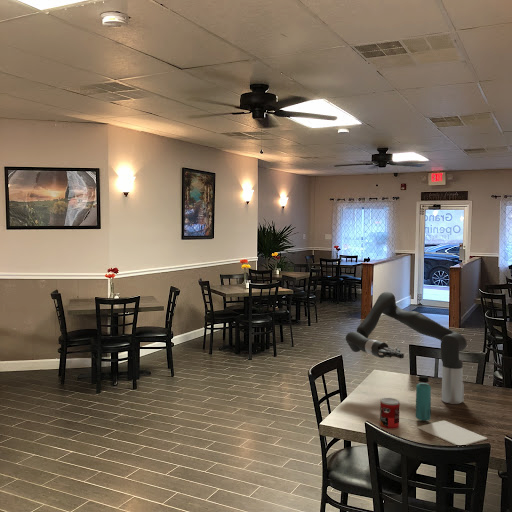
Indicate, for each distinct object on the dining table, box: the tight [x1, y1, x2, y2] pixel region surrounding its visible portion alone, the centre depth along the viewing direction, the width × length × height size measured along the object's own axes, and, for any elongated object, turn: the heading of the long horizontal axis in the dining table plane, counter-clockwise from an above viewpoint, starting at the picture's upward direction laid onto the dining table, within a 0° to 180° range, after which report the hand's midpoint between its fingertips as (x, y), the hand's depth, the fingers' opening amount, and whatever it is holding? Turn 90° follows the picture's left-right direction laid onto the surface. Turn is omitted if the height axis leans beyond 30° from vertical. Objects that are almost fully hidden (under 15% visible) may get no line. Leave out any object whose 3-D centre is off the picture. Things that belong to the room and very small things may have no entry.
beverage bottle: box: [414, 375, 432, 421], centre depth 232 cm, size 6×7×20 cm
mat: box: [416, 420, 488, 446], centre depth 219 cm, size 22×16×1 cm
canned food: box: [379, 397, 401, 430], centre depth 227 cm, size 8×8×11 cm
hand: (402, 356), depth 242 cm, fingers closed
